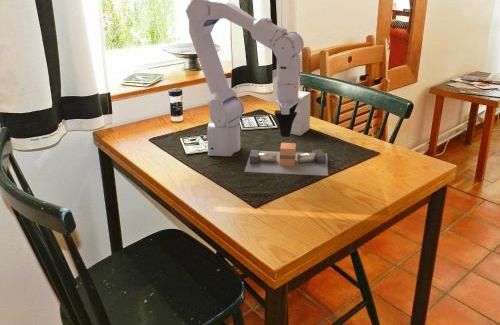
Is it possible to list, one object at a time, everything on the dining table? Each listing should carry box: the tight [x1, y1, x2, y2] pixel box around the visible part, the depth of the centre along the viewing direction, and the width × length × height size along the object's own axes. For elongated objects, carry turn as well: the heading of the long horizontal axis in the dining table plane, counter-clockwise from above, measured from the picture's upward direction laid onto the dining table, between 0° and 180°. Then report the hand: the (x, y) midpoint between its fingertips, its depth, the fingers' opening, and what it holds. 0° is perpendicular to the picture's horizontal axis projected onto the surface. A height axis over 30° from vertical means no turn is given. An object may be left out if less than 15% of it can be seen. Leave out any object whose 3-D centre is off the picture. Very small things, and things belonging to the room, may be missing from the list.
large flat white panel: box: [243, 150, 329, 177], centre depth 125 cm, size 22×14×1 cm, turn 82°
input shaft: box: [249, 149, 277, 164], centre depth 125 cm, size 7×4×3 cm, turn 82°
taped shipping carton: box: [279, 142, 297, 166], centre depth 124 cm, size 4×4×5 cm
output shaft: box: [297, 148, 326, 164], centre depth 125 cm, size 7×4×3 cm, turn 102°
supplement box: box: [290, 90, 312, 136], centre depth 147 cm, size 7×7×13 cm
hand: (286, 131), depth 122 cm, fingers open, 7 cm apart
